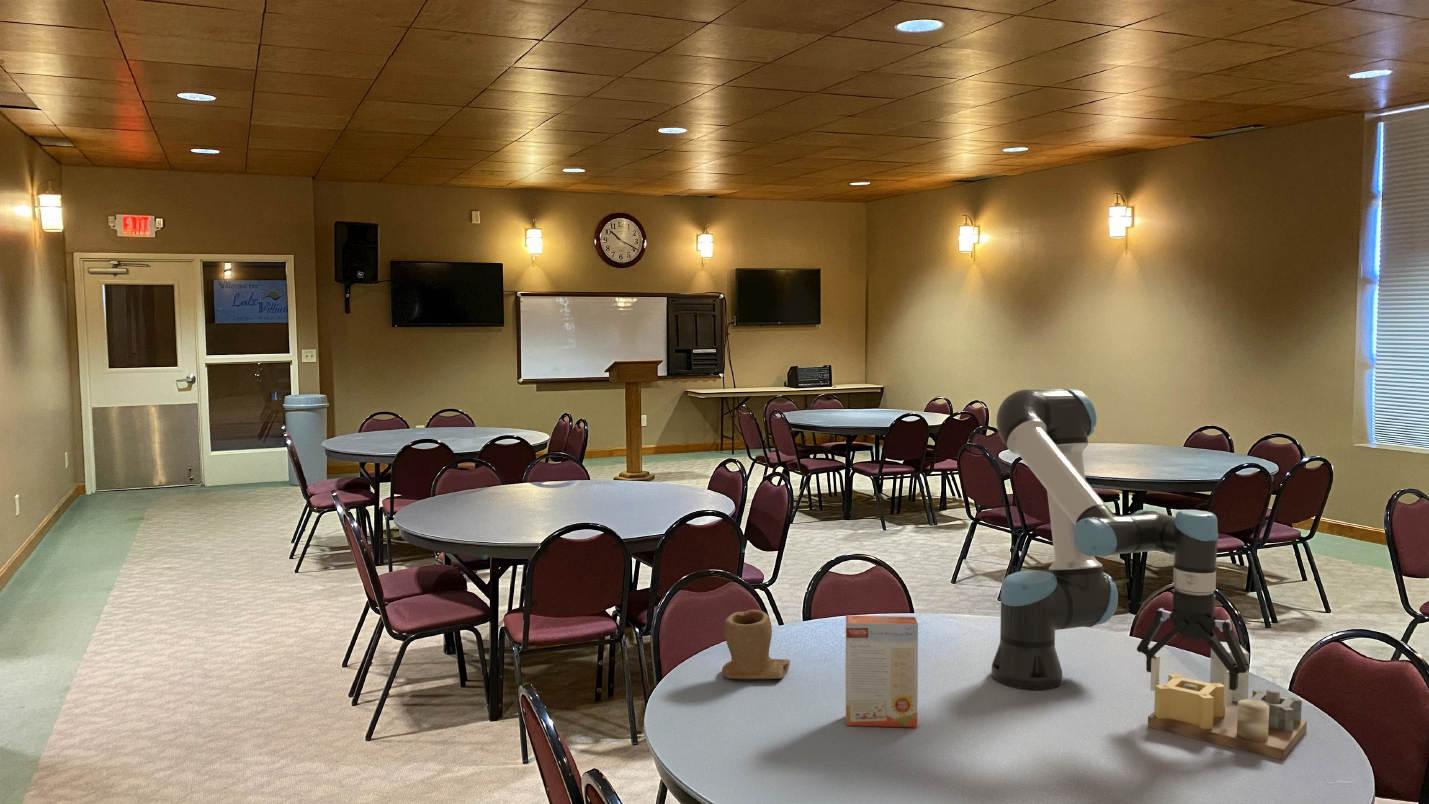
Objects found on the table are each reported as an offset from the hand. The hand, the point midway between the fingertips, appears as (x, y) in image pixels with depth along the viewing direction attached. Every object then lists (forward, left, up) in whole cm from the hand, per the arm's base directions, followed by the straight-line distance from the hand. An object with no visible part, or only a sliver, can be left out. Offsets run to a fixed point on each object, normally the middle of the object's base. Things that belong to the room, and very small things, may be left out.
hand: (1190, 697), depth 206 cm
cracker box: (-47, -38, -6) cm, 61 cm away
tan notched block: (0, 0, -4) cm, 4 cm away
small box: (+1, +23, -6) cm, 24 cm away
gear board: (+6, +3, -6) cm, 9 cm away
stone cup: (-82, -34, -6) cm, 89 cm away
